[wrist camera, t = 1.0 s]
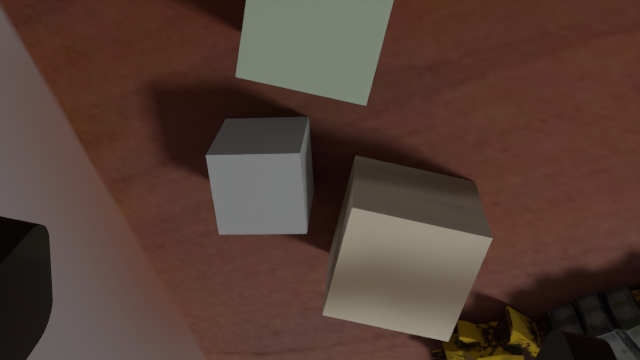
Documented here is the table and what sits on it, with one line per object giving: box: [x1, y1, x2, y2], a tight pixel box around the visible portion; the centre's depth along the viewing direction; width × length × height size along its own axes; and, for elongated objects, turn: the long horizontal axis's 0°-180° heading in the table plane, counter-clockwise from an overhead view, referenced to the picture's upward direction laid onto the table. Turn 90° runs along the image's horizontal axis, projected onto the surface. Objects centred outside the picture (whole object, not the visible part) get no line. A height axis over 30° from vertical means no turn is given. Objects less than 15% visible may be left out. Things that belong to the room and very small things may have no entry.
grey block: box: [206, 117, 314, 235], centre depth 27 cm, size 4×4×4 cm
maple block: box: [322, 155, 493, 342], centre depth 28 cm, size 6×6×5 cm
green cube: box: [236, 0, 394, 106], centre depth 23 cm, size 5×5×5 cm
